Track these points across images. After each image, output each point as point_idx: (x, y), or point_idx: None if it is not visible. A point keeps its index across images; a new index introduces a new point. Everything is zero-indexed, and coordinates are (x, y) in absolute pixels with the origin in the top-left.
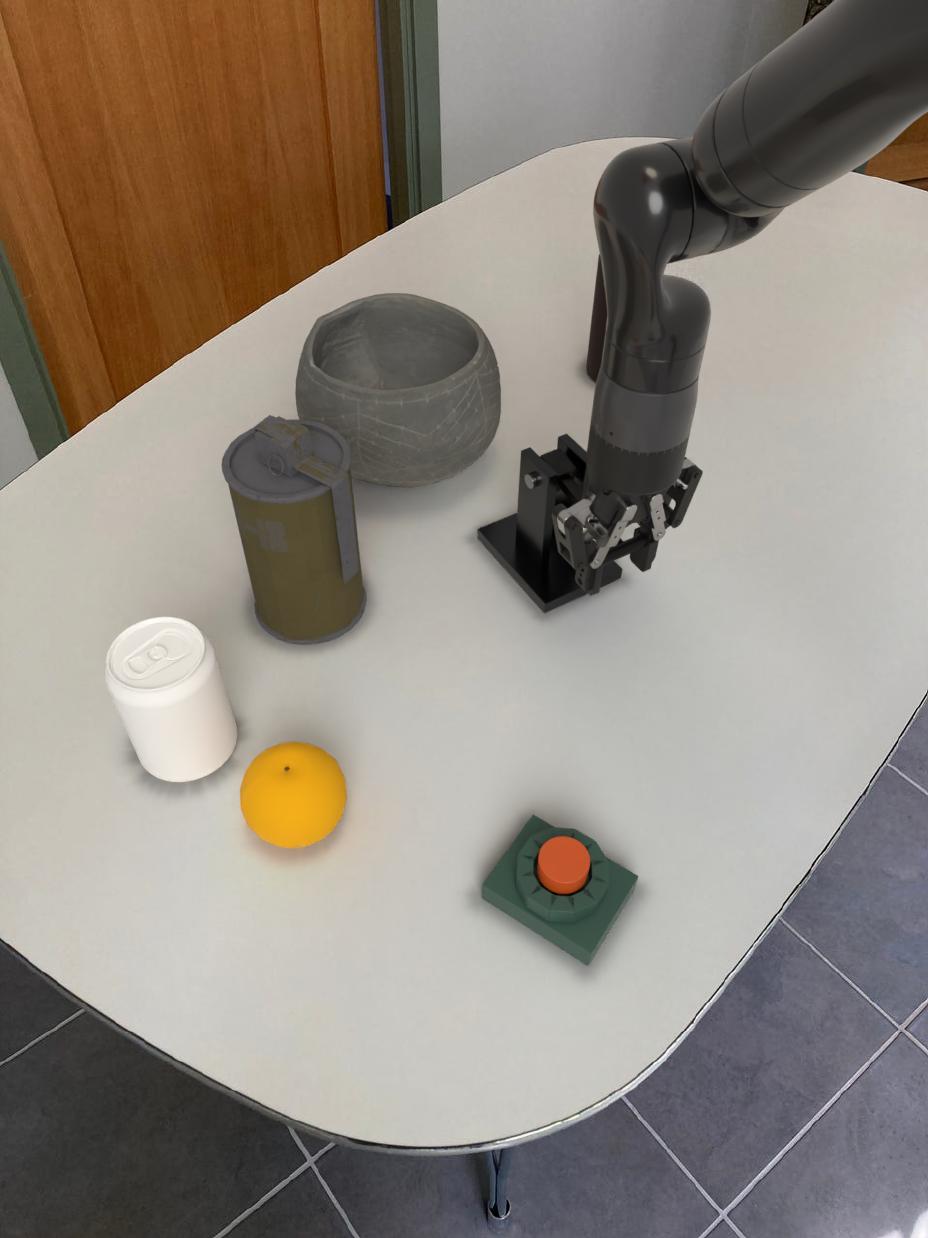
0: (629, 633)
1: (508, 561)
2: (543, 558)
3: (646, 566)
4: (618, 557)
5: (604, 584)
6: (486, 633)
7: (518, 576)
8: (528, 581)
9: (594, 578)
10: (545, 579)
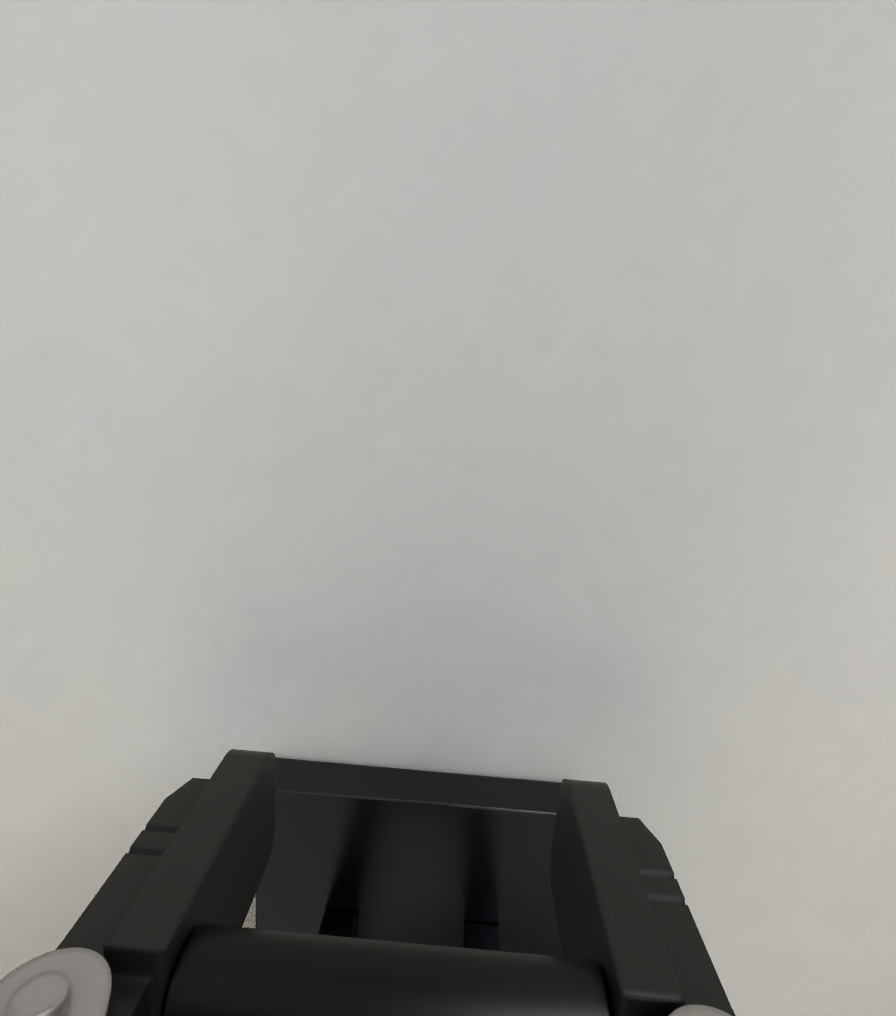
0: (407, 571)
1: None
2: None
3: (250, 775)
4: (448, 968)
5: (339, 767)
6: (774, 820)
7: None
8: None
9: (641, 893)
10: (508, 891)
